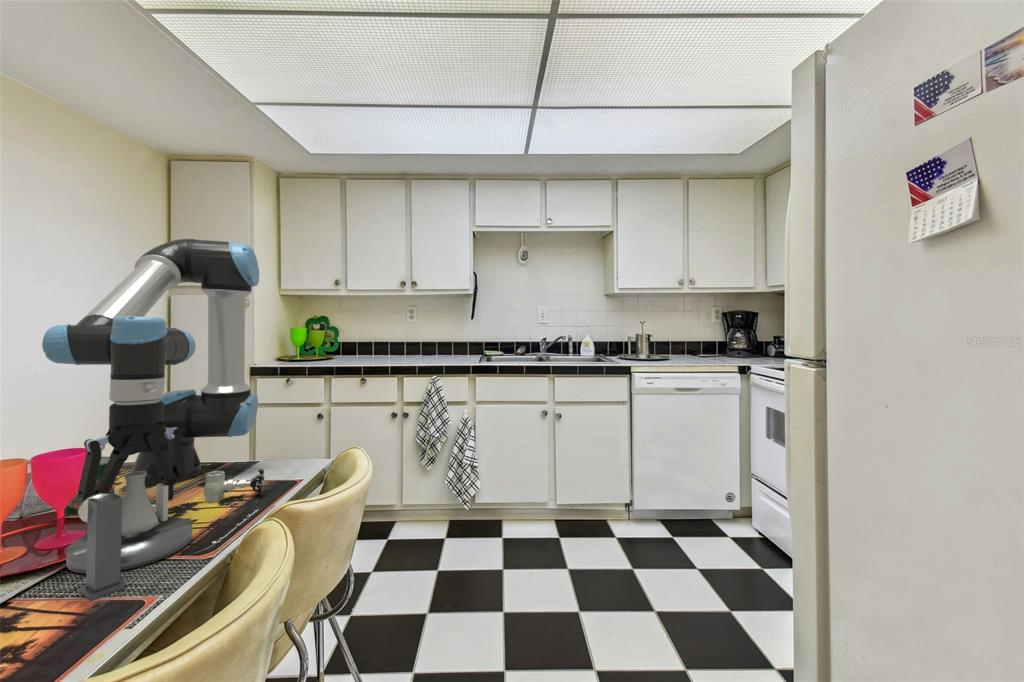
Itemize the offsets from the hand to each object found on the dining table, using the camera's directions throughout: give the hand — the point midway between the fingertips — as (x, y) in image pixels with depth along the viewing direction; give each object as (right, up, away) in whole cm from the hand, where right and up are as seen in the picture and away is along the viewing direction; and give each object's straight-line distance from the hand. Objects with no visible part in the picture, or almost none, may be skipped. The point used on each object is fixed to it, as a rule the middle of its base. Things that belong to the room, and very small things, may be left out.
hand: (134, 527), depth 78 cm
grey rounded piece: (0, -4, 0) cm, 4 cm away
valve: (+1, -4, +26) cm, 26 cm away
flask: (0, 0, 0) cm, 0 cm away
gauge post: (+6, -4, -12) cm, 14 cm away
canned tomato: (-23, -4, +16) cm, 28 cm away
